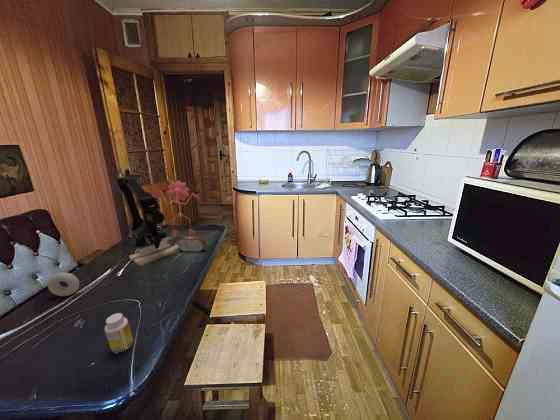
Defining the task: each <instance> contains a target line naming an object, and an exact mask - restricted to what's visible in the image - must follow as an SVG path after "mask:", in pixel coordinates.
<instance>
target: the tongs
mask: <svg viewBox="0 0 560 420" xmlns="http://www.w3.org/2000/svg"><path fill="white" fill-rule="evenodd" d="M176 242H177V239H176V237H175V238H174V237H173V236H167V238H164V239H162V240H161V242H160V245H159V248H158V249H156V247H155V245H154V242H152V243H150V242H148V243H149V244H146V245H144V246H141V247H138V248H137V247H136V248H137V253H138V254H139V255H140V256H141V257H142V256H144V255H147V254H150V253H152V252H155V251H158V250H160V249H163V248H166V247H168V246H171V245H174V244H175V243H176ZM176 244H177V243H176Z"/></svg>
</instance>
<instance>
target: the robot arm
mask: <svg viewBox="0 0 560 420" xmlns="http://www.w3.org/2000/svg"><path fill="white" fill-rule="evenodd" d="M113 184H114V186H115V188H116V190H117V191H118V192H119V193H120V194H122V195H123V199H124V203H125V206H126V208H127V211H128V213H129V217H130V222H129V229H128V235H129V237H130V238H131V239H134V243H133V246H134V247H136V248H138V247H141V246H144V245H146V244H149V243H152V242H154V245H155V247H156V249H158V248H159V245H160V242H161V240H162V239H164V238H167V237H168V234H167V232H164V231H162V230H161V228H159V226H158V225H160V224H162V223H163V222H164V221H165V215H164V214H163V212H160V204H159V202H158V200H157V199H156V197H155V196H154V195H152V194H151V193H150V192H148V191H145V189H144V188H143V187H142V186H141V185H140V184H139V182H138V181H137V179H136V177H135V176H134V175H129V176H128V175H127V176H123V177H117V178H115V180H113ZM135 197H136V198H135ZM135 199H136V200H135ZM139 209H140V211H141V214H142V216H141V215H140V212H139ZM147 239H148V241H149V242H148V241H147Z"/></svg>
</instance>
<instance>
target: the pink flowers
mask: <svg viewBox="0 0 560 420" xmlns="http://www.w3.org/2000/svg"><path fill="white" fill-rule="evenodd" d="M186 185H187V184H186V182H182V181H181V180H177V181H176V182H175V181H174V180H172V181H171V182H170V185H167V188H168V190H167V191H166V194H167V195H168V196H169V198H170V200H174V201H171V202H166V199H165V197H164V193H163V191H162V190H159V191H156V193H155V194H154V198H155V199H156V200H158V199H160V198H161V197H162V198H163V201H164V203H165V205H167V204H173V203H175V204H178V205H180V207H179V212H178V213H177V215H176V216H175V217H174V218H173V219H171V220H170V223H171V227H172V229H173V230H172V232H171V234H170V236H171V237H173V238H175V239H176V237H177V236H178V234H179V231H178V230H177V229H175V227H174V225H173V221H174V220H175V219H176V218H183V217H184V218H186V219H188V221H189V223H191V219H190V218H189V217H187V216H184V214H183V213H182V212H181V211H182V205H187V204H188V202H189V201H190V199H191V198H192V196H193V197H194V198H196V199H197V200H198V201H201V200H202V198H201V197H200V196H199V195H198V194H196V193H194V192H191V195H190V194H189V191H190V188H189V187H187V186H186ZM186 198H188V199H187V201H186ZM181 201H182V202H181ZM184 201H186V202H185V203H184ZM191 228H192V227H191V226H189V229H188V230H187V233H188V234H189V236H197V233H196V231H195V230H193V229H191Z"/></svg>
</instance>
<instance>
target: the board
mask: <svg viewBox="0 0 560 420" xmlns="http://www.w3.org/2000/svg"><path fill="white" fill-rule="evenodd" d="M179 251H182V250H181V249H179V247H178V244H177V243H175V244H174V245H171V246H168V247H166V248H163V249H160V250H158V251H155V252H152V253H150V254H147V255H144V256H142V257H141V256H140V255H139V254H138V252H136V253H134V254H130V255H128V258H129V260H131V261H132V262H133V263H135V264H136V265H138V266H139V267H142V266H145V265H148V264H150V263H151V262H154V261H157V260H159V259H162V258H164V257H167V256H168V255H169V256H170V255H171V254H173V253H177V252H179Z"/></svg>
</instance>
